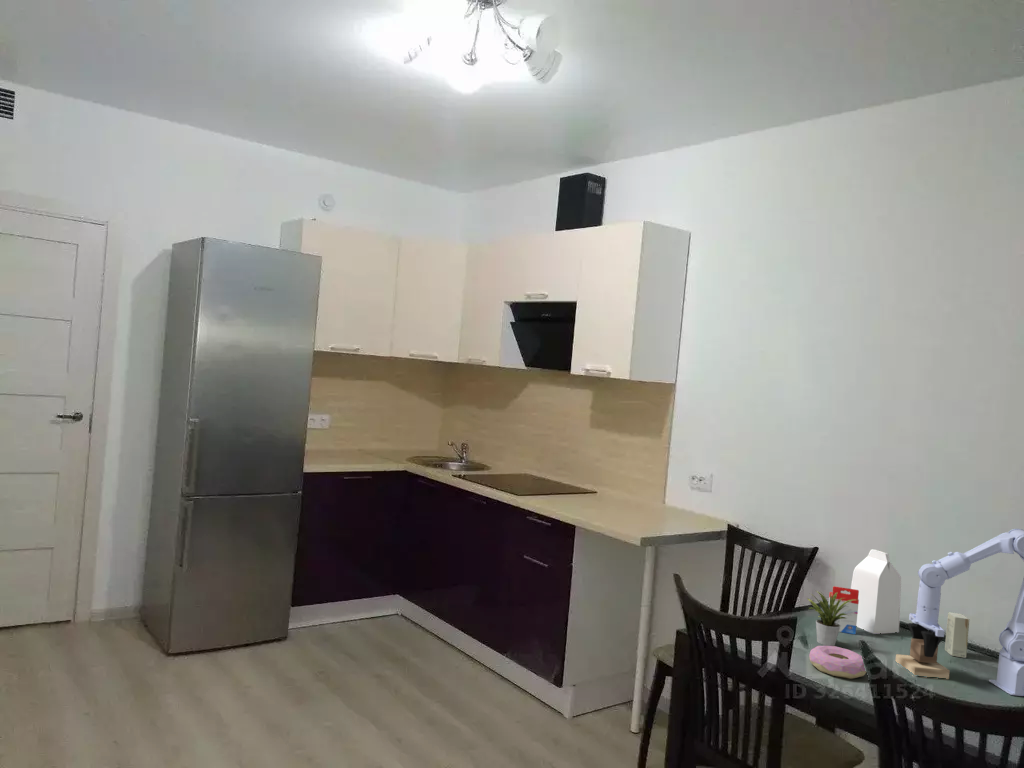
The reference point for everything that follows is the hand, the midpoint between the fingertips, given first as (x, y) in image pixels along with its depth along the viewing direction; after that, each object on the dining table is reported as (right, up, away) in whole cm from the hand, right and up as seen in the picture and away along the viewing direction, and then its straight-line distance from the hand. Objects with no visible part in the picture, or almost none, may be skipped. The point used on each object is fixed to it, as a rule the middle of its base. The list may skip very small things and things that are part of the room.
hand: (923, 652), depth 219 cm
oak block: (-1, -6, 0) cm, 6 cm away
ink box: (-10, -4, +32) cm, 34 cm away
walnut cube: (0, -2, 0) cm, 2 cm away
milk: (+4, -5, +39) cm, 40 cm away
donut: (-27, -3, -6) cm, 28 cm away
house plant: (-20, -3, +18) cm, 27 cm away
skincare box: (+20, -7, +19) cm, 28 cm away
